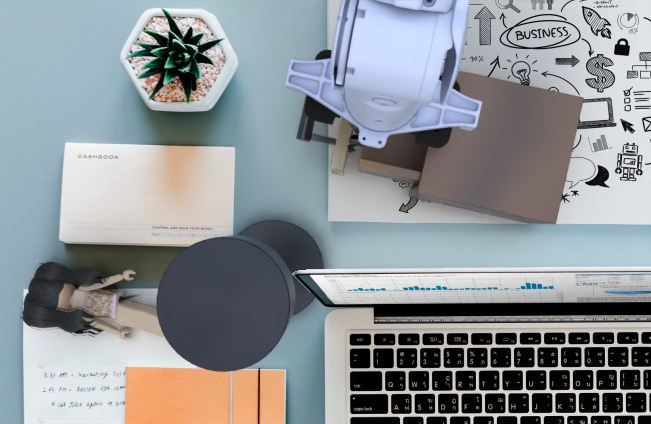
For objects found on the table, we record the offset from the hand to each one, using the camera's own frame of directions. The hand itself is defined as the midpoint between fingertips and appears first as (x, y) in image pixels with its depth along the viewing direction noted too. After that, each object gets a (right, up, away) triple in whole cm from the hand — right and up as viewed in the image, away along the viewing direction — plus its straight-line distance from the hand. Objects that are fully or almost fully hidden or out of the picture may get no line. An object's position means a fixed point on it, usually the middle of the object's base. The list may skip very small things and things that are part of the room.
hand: (377, 113), depth 57 cm
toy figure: (-27, -18, +10) cm, 34 cm away
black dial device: (0, 0, +2) cm, 2 cm away
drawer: (+1, 0, +8) cm, 8 cm away
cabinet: (+11, -3, +9) cm, 15 cm away
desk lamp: (-10, -15, +9) cm, 20 cm away
